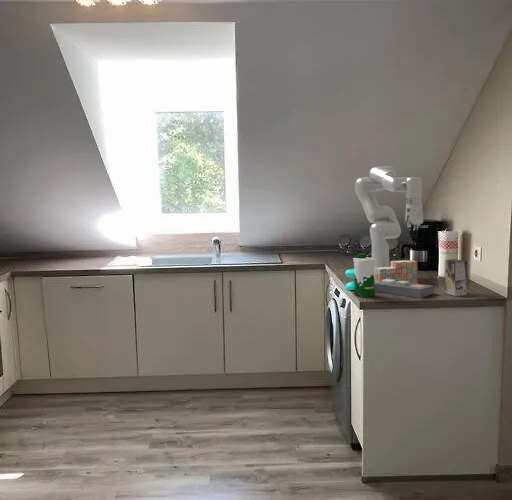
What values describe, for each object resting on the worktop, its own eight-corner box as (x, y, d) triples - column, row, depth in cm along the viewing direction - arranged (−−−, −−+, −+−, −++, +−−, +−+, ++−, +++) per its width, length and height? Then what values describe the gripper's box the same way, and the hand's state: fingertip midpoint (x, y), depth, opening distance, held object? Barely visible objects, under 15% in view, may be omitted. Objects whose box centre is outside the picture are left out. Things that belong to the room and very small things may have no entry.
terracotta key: (409, 292, 254) (409, 286, 253) (415, 290, 257) (415, 284, 257) (419, 293, 250) (419, 287, 250) (424, 292, 253) (424, 285, 253)
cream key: (381, 286, 265) (381, 280, 265) (386, 284, 268) (386, 278, 268) (389, 287, 261) (389, 281, 261) (395, 285, 265) (395, 280, 264)
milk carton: (366, 293, 261) (366, 252, 259) (378, 296, 253) (377, 254, 251) (351, 295, 257) (351, 253, 255) (362, 298, 249) (362, 255, 247)
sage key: (395, 288, 259) (395, 282, 259) (400, 286, 263) (400, 280, 262) (404, 289, 256) (404, 283, 255) (409, 287, 259) (409, 281, 259)
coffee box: (467, 295, 248) (467, 261, 247) (455, 296, 247) (455, 262, 245) (455, 291, 257) (456, 258, 256) (443, 292, 256) (444, 259, 254)
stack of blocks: (380, 287, 276) (379, 263, 275) (374, 285, 282) (374, 262, 281) (417, 284, 281) (417, 261, 280) (411, 282, 287) (411, 259, 286)
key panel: (372, 291, 265) (372, 283, 264) (386, 287, 273) (386, 280, 272) (420, 297, 246) (420, 289, 245) (433, 293, 254) (433, 285, 254)
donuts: (347, 271, 265) (343, 268, 275) (347, 291, 266) (343, 288, 276) (367, 271, 265) (362, 268, 275) (367, 290, 266) (363, 287, 276)
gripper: (412, 202, 261) (412, 239, 263) (428, 201, 271) (427, 237, 273) (399, 202, 267) (399, 239, 269) (414, 201, 277) (414, 236, 279)
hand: (413, 237), depth 271 cm, fingers closed
